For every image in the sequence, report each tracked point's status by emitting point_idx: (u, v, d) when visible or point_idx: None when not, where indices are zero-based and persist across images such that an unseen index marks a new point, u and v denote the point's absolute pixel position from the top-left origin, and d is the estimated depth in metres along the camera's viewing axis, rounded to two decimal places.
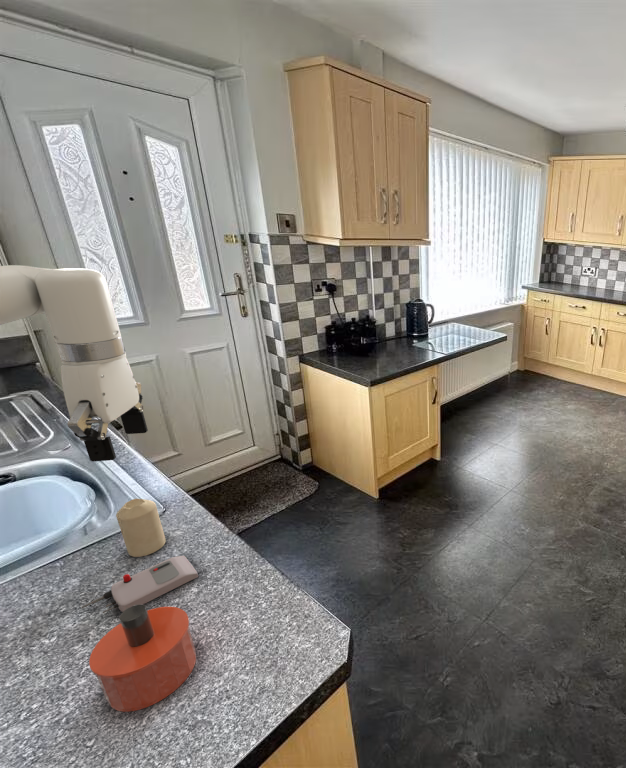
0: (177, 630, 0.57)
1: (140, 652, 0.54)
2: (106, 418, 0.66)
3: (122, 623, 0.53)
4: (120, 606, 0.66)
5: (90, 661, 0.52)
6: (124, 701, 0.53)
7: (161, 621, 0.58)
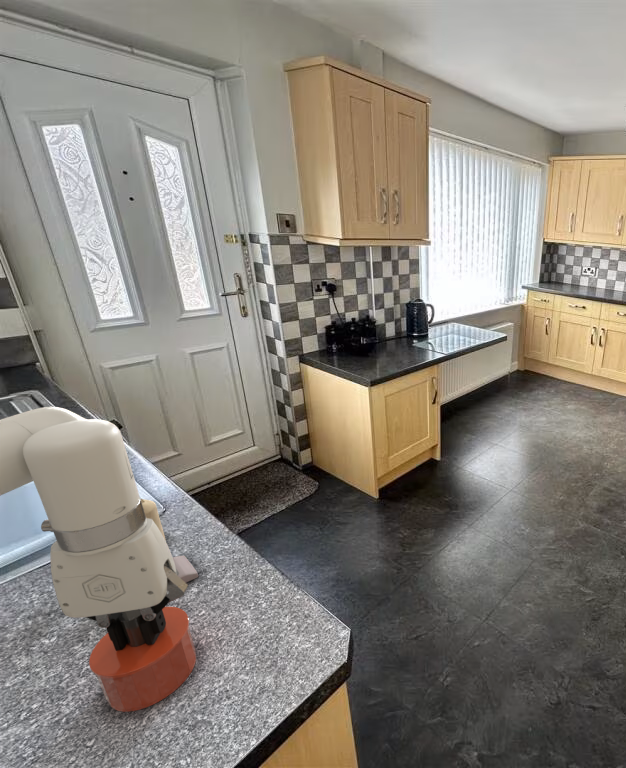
0: (177, 630, 0.57)
1: (140, 652, 0.54)
2: None
3: (122, 623, 0.53)
4: None
5: (90, 661, 0.52)
6: (124, 701, 0.53)
7: None
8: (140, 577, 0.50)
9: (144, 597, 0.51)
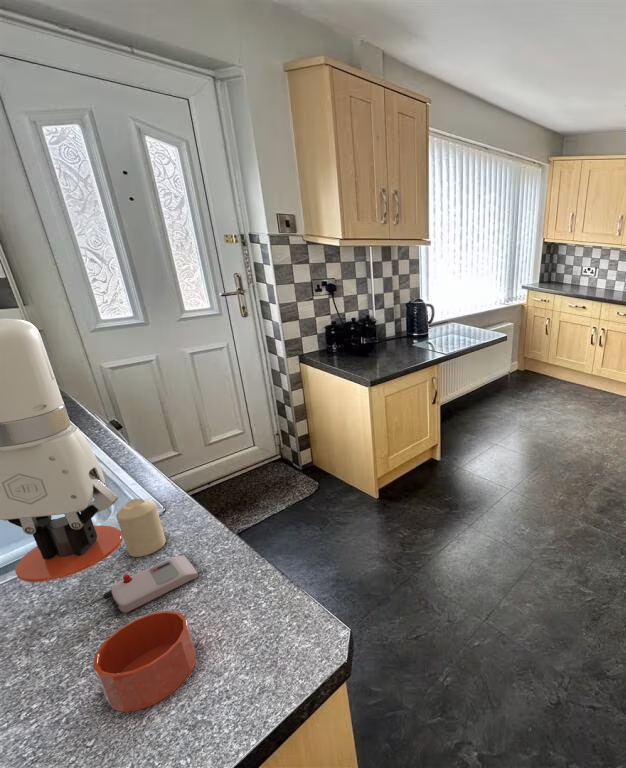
0: (108, 544, 0.57)
1: (67, 560, 0.54)
2: None
3: (49, 531, 0.53)
4: (120, 606, 0.66)
5: (16, 567, 0.53)
6: (124, 701, 0.53)
7: None
8: (62, 479, 0.50)
9: (67, 501, 0.51)
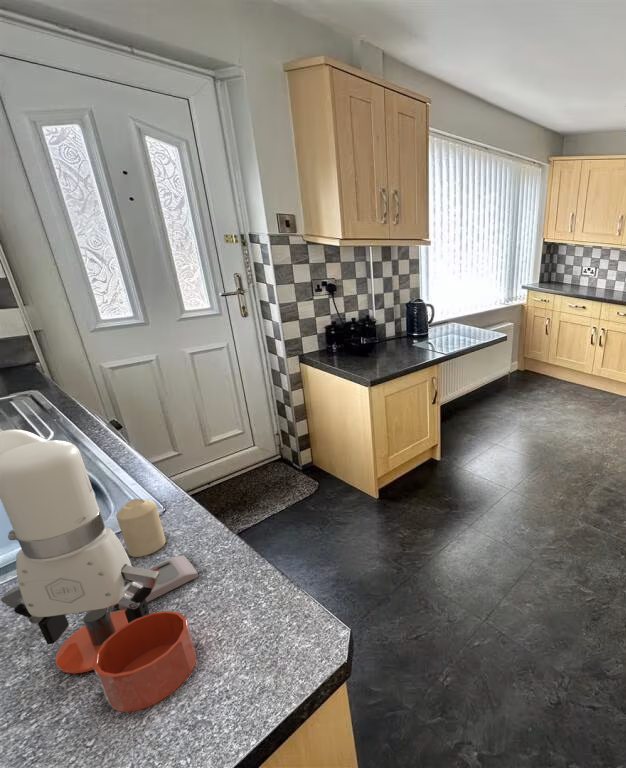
0: None
1: None
2: None
3: (85, 624, 0.59)
4: (120, 606, 0.66)
5: (56, 658, 0.58)
6: (124, 701, 0.53)
7: (123, 622, 0.64)
8: (98, 581, 0.56)
9: (102, 598, 0.57)
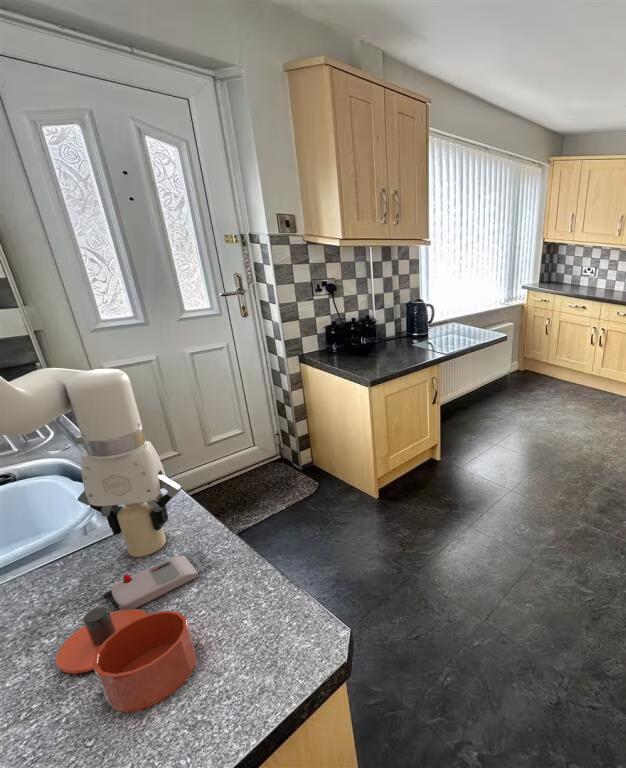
0: None
1: None
2: None
3: (85, 624, 0.59)
4: (120, 606, 0.66)
5: (56, 658, 0.58)
6: (124, 701, 0.53)
7: (123, 622, 0.64)
8: (141, 478, 0.73)
9: (144, 494, 0.73)
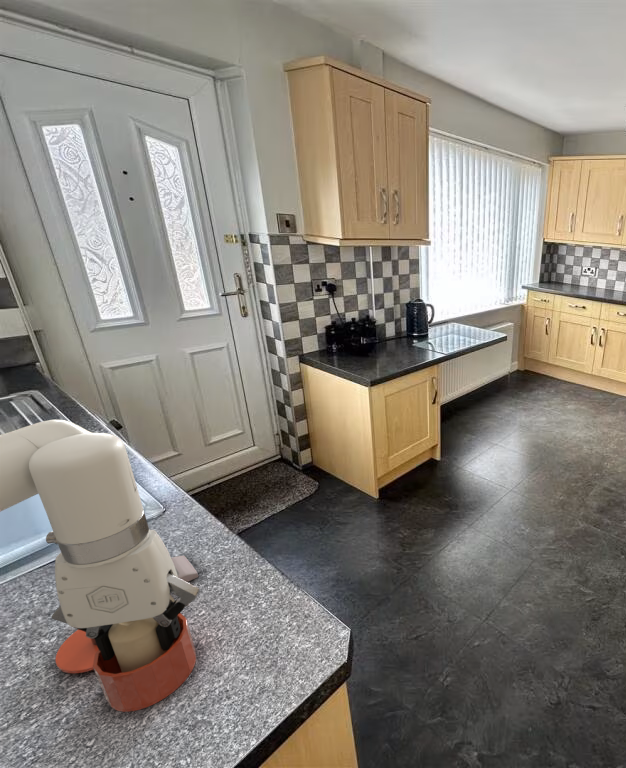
0: None
1: None
2: None
3: None
4: None
5: (56, 658, 0.58)
6: (124, 701, 0.53)
7: None
8: (143, 588, 0.50)
9: (147, 608, 0.51)
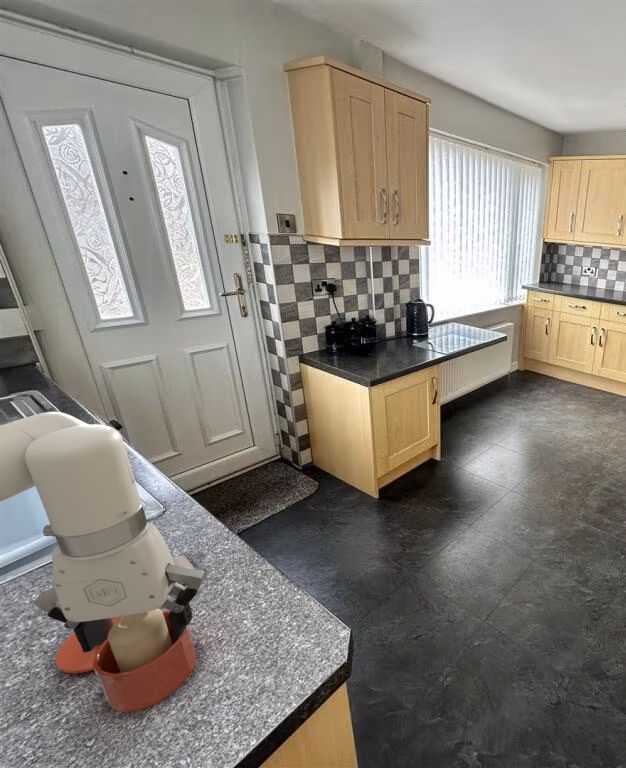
0: None
1: None
2: None
3: None
4: None
5: (56, 658, 0.58)
6: (124, 701, 0.53)
7: None
8: (141, 581, 0.50)
9: (145, 601, 0.51)
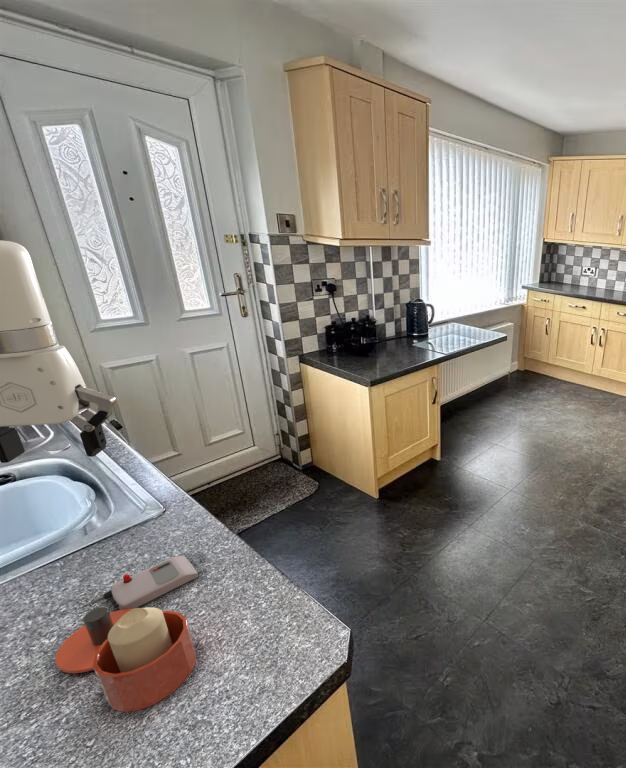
0: None
1: None
2: None
3: (85, 624, 0.59)
4: (120, 606, 0.66)
5: (56, 658, 0.58)
6: (124, 701, 0.53)
7: None
8: (50, 390, 0.55)
9: (55, 411, 0.56)
